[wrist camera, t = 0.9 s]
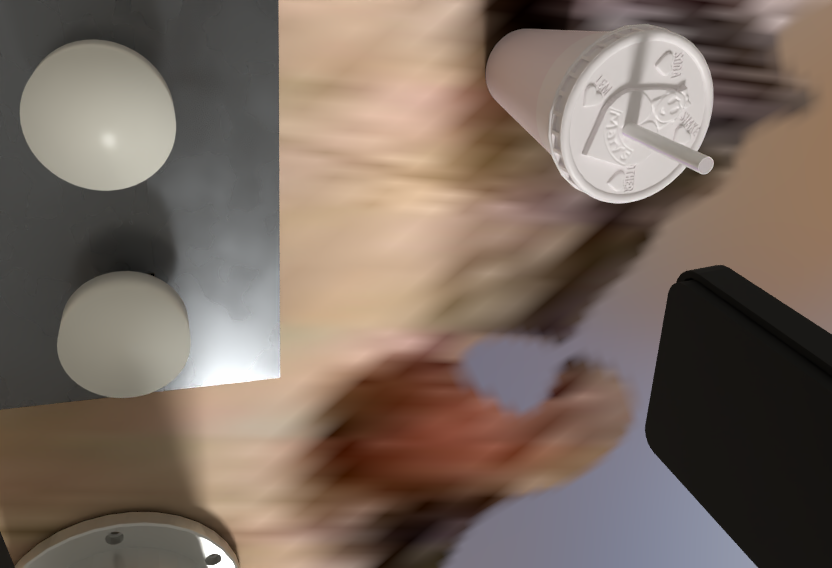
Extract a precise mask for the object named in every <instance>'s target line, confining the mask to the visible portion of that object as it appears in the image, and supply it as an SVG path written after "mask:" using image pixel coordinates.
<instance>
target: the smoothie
mask: <svg viewBox="0 0 832 568" xmlns="http://www.w3.org/2000/svg"><path fill="white" fill-rule="evenodd" d="M486 83H487V87H488V90H489V92H490V94H491V95H492V97H493V98H494V99H495V100H496V101H497V102H498V103H499V104H500V105H501V106H502V107H503V108H504V109H505V110H506V111H507V112H508V113H509V114H510V115H511V116H512V117H513V118H514V119H515V120H516V121H517V122H518V123H519V124H520V125H521V126H522V127H523V128H524V129H525V130H526V131H527V132H528V133H529V134H531V135H532V136H533V137H534V138H535V139H536V140H537V141H538V142H539V143H540V144H541V145H542V146H543V147H544V148H545V149H546V150H547V151H548V152H549V153H550V154H551V155H552V158H553V160H554V162H555V164H556V166H557V168H558V170H559V172H560V174H561V175H562V176H563V177H564V178H565V179H566V180H567V181H568V182H569V183H570V184H571V185H572V186H573V187H574V188H576V189H578V190H580V191H582V192H584V193H586V194H588V195H589V196H591V197H593V198H595V199H598V200H601V201H604V202H609V203H628V202H633V201H637V200H640V199H644V198H646V197H648V196H651V195H653V194H654V193H656V192H658V191H660V190H661V189H663V188H664V187H666V186H667V185H668V184H670V183H671V182H672V181H673V180H674V179H675V178H676V177H677V176H678V175H679V174H680V173H681V172H682V171H683V170H684V169H685V168H686V167H688V168H690V169H692V170H694V171H697V172H699V173H701V174H707V173H708V172H710V171H711V169H712V168H713V164H714V162H713V159H712V158H711V157H709V156H706V155H704V154H702V153H700V152H697V151H698V149H699V147H700V145H701V144H702V141H703V139H704V137H705V134H706V132H707V129H708V126H709V122H710V118H711V113H712V107H713V84H712V78H711V74H710V70H709V68H708V65H707V63H706V61H705V59H704V57H703V55H702V54H701V52H700V51H699V50H698V49H697V47H696V46H695V45H694V44H693V43H691V42H690V41H689V40H688V39H686V38H685V37H683V36H681V35H679V34H677V33H674V32H671V31H668V30H667V29H665V28H661V27H657V26H653V25H649V24H640V25H629V26H624V27H621V28H619V29H616V30H614V31H611V32H598V31H573V30H549V29H519V30H515V31H513V32H511V33H509V34H507V35H506V36H504V37H503V38H502V39H501V40H500V41H499V42H498V43H497V44H496V45H495V47H494V48H493V50H492V51H491V53H490V56H489V58H488V61H487V65H486Z"/></svg>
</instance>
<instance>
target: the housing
mask: <svg viewBox="0 0 832 568" xmlns="http://www.w3.org/2000/svg"><path fill="white" fill-rule="evenodd" d="M92 39H96V40H106V41H111V42H115V43H118V44H121V45H124V46H126V47H128V48H130V49H132V50H134V51H136V52H137V53H139V54H141V55H142V56H143V57H145V58H146V59H147V60H148V61H149V62H151V64H152V65H153V66H154V67H155V68H156V69H157V70H158V71H159V73H160V74H161V75H162V77H163V78H164V80H165V82H166V84H167V86H168V88H169V90H170V93H171V96H172V100H173V105H174V111H175V118H176V135H175V141H174V144H173V148H172V150H171V152H170V154H169V156H168V158H167V160H166V161H165V163H164V164H163V165H162V166H161V168H160V169H159V170H158V171H157V172H156V173H154V174H153V175H152V176H151V177H149V178H148V179H146V180H145V181H143V182H141V183H139V184H137V185H134V186H131V187H128V188H124V189H120V190H110V191H102V190H92V189H87V188H83V187H79V186H76V185H74V184H71V183H69V182H67V181H65V180H63V179H61V178H59V177H58V176H56V175H55V174H53V173H52V172H51V171H49V170H48V169H47V168H46V167H45V166H44V165H43V164H42V163H41V162H40V161H39V160H38V159H37V158H36V156H35V155H34V154H33V152H32V151H31V149H30V147H29V145H28V144H27V142H26V139H25V137H24V134H23V131H22V127H21V123H20V102H21V98H22V93H23V91H24V88H25V86H26V84H27V82H28V80H29V79H30V77H31V75H32V74H33V72H34V71H35V69H36V68H37V66H38V65H39V64H40V62H41V61H42V60H43V59H44V58H45V57H46V56H47V55H48V54H50V53H51V52H53V51H54V50H56V49H57V48H59V47H61V46H63V45H65V44H68V43H72V42H75V41H80V40H92ZM117 271H134V272H141V273H155V277H156V278H158V279H160V280H162V281H164V282H165V283H167V284H168V285H169V286H171V287H172V288H173V289H174V290H175V291H176V292H177V293H178V294H179V296H180V297H181V299H182V300H183V302H184V305H185V307H186V310H187V314H188V321H189V330H190V339H191V347H190V353H189V356H188V359H187V362H186V364H185V366H184V367H183V369H182V370H181V372H180V373H179V374H178V375H177V376H176V377H175V378H174V379H173V380H172V381H171V382H170V383H168V384H167V385H165V386H164V387H162V388H160V389H158V390H157V391H154V392H159V391H168V390H177V389H186V388H195V387H203V386H212V385H221V384H230V383H238V382H247V381H256V380H265V379H274V378H280V252H279V34H278V0H0V410H1V409H10V408H19V407H27V406H36V405H45V404H54V403H63V402H71V401H80V400H89V399H98V398H107V397H106V396H102V395H98V394H96V393H93V392H90V391H88V390H86V389H84V388H83V387H81V386H80V385H78V384H77V383H76V382H75V381H73V380H72V379H71V378H70V377H69V375H68V374H67V373H66V372H65V370H64V368H63V367H62V365H61V362H60V360H59V356H58V352H57V340H58V334H59V329H60V324H61V318H62V314H63V310H64V307H65V305H66V303H67V301H68V300H69V298H70V297H71V295H72V294H73V293H74V292H75V291H76V290H77V289H78V288H79V287H80V286H81V285H83V284H84V283H86V282H87V281H89V280H91V279H93V278H95V277H97V276H100V275H103V274H106V273H111V272H117Z"/></svg>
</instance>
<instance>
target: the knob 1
mask: <svg viewBox="0 0 832 568" xmlns="http://www.w3.org/2000/svg"><path fill="white" fill-rule="evenodd" d="M20 123H21V127H22V131H23V134H24V137H25V139H26V142H27V144H28V145H29V147H30V149H31V151H32V152H33V154H34V155H35V156H36V158H37V159H38V160H39V161H40V162H41V163H42V164H43V165H44V166H45V167H46V168H47V169H48V170H49V171H51V172H52V173H53V174H55V175H56V176H58V177H59V178H61V179H63V180H65V181H67V182H69V183H71V184H74V185H76V186H79V187H83V188H87V189H92V190H102V191H110V190H120V189H124V188H128V187H131V186H134V185H137V184H139V183H141V182H143V181H145V180H146V179H148V178H149V177H151V176H152V175H153V174H154V173H156V172H157V171H158V170H159V169H160V168H161V166H162V165H163V164H164V163H165V161H166V160H167V158H168V156H169V154H170V152H171V150H172V148H173V144H174V141H175V135H176V118H175V111H174V105H173V100H172V96H171V93H170V90H169V88H168V86H167V84H166V82H165V80H164V78H163V77H162V75H161V74H160V73H159V71H158V70H157V69H156V68H155V67H154V66H153V65H152V64H151V62H149V61H148V60H147V59H146V58H145V57H143V56H142V55H141V54H139V53H137V52H136V51H134V50H132V49H130V48H128V47H126V46H124V45H121V44H118V43H115V42H111V41H106V40H96V39H92V40H80V41H75V42H72V43H68V44H65V45H63V46H61V47H59V48H57V49H56V50H54V51H53V52H51V53H50V54H48V55H47V56H46V57H45V58H44V59H43V60H42V61H41V62H40V64H39V65H38V66H37V68H36V69H35V71H34V72H33V74H32V75H31V77H30V79H29V80H28V82H27V84H26V86H25V88H24V91H23V93H22V98H21V102H20Z"/></svg>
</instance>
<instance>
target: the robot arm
mask: <svg viewBox="0 0 832 568" xmlns="http://www.w3.org/2000/svg"><path fill="white" fill-rule="evenodd" d="M645 433H646V438H647V441H648V444H649V446H650V448H651V449H652V450H653V452H654V453H655V454H656V455H657V456H658V457H659V459H660V460H661V461H662V462H663V463H664V464H665V465H666V466H667V467H668V469H669V470H670V471H671V472H672V473H673V474H674V475H675V476H676V477H677V478H678V480H679V481H680V482H681V483H682V484H683V485H684V486H685V487H686V488H687V489H688V491H690V493H691V494H692V495H693V496H694V497H695V498H696V499H697V501H698V502H699V503H700V504H701V505H702V506H703V507H704V508H705V509H706V511H707V512H708V513H709V514H710V515H711V516H712V517H713V518H714V519H715V520H716V522H717V523H718V524H719V525H720V526H721V527H722V528H723V529H724V530H725V531H726V533H727V534H728V535H729V536H730V537H731V538H732V539H733V540H734V542H735V543H737V545H738V546H739V547H740V548H741V549H742V550H743V551H744V553H745V554H746V555H747V556H748V557H749V558H750V559H751V560H752V561H753V562H754V564H755V565H756V566H757V567H758V568H832V334H830V333H828V332H827V331H825V330H824V329H822V328H821V327H819V326H817V325H816V324H815V323H813V322H812V321H810V320H809V319H807V318H805V317H804V316H802V315H801V314H799V313H798V312H796V311H795V310H793V309H792V308H790V307H788V306H787V305H785V304H783V303H782V302H781V301H779V300H778V299H776V298H775V297H773V296H772V295H770V294H768V293H767V292H765V291H764V290H762V289H761V288H759V287H758V286H756V285H754V284H753V283H751V282H750V281H748V280H747V279H745V278H744V277H742V276H741V275H739V274H738V273H736V272H735V271H733V270H732V269H730V268H728V267H726V266H723V265H716V266H711V267H705V268H700V269H694V270H689V271H686V272H684V273H682V274H681V275H680V276H679V278H678V279H677V283H675V284H673V285H672V287H671V288H670V290H669V293H668V298H667V304H666V310H665V315H664V321H663V327H662V333H661V339H660V344H659V350H658V356H657V361H656V367H655V373H654V379H653V384H652V391H651V396H650V402H649V407H648V413H647V419H646V425H645ZM0 568H240V566H239V563H238V560H237V557H236V555H235V553H234V552H233V550H232V549H231V547H230V546H229V544H228V543H227V542H226V541H225V540H224V539H223V538H222V537H220V536H219V535H218V534H217V533H216V532H215V531H213V530H211V529H209V528H208V527H206V526H204V525H202V524H200V523H199V522H196V521H193V520H190V519H187V518H184V517H181V516H177V515H171V514H165V513H158V512H128V513H120V514H112V515H106V516H102V517H98V518H95V519H91V520H87V521H83V522H81V523H78V524H76V525H73V526H71V527H69V528H66V529H64V530H61V531H59V532H57V533H56V534H54V535H52V536H51V537H49V538H47V539H46V540H44V541H42V542H41V543H39V544H38V545H36V546H35V547H34V548H33V549H32V550H30V551H29V552H28V553H27V554H26V555H25V556H23V557H22V558H21V559H20V560H19V561H18V563H17V564H16V565H15V566H14V564H13V562H12V559H11V557H10V554H9V552H8V549H7V547H6V545H5V542H4V540H3V537H2V535H1V532H0Z"/></svg>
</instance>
